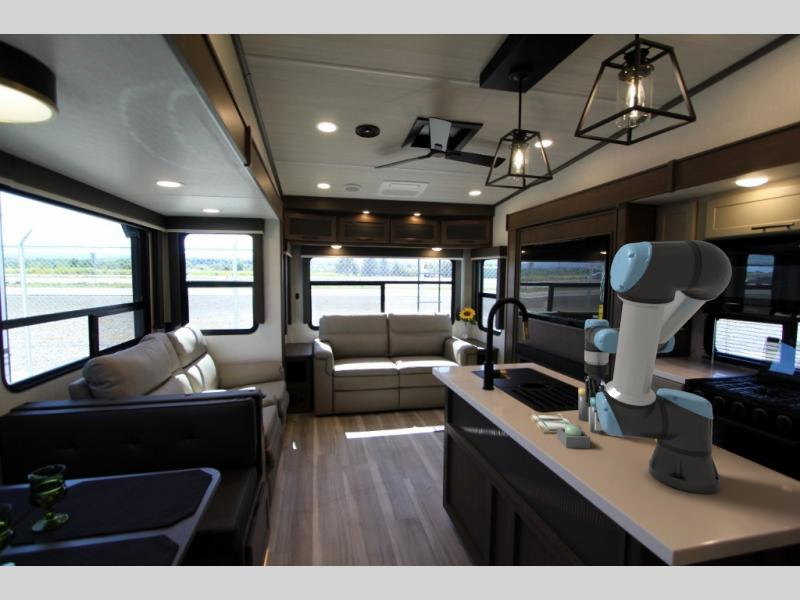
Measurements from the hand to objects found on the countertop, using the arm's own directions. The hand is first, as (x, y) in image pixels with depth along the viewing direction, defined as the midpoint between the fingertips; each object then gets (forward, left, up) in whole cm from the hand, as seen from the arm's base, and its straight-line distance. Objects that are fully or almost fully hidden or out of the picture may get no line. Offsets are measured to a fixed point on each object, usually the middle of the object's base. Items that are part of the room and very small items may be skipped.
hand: (596, 427), depth 128 cm
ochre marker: (+12, -1, -2) cm, 12 cm away
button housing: (-10, +12, -2) cm, 15 cm away
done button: (-10, +12, 0) cm, 15 cm away
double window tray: (+7, +12, -2) cm, 14 cm away
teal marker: (0, 0, -2) cm, 2 cm away
